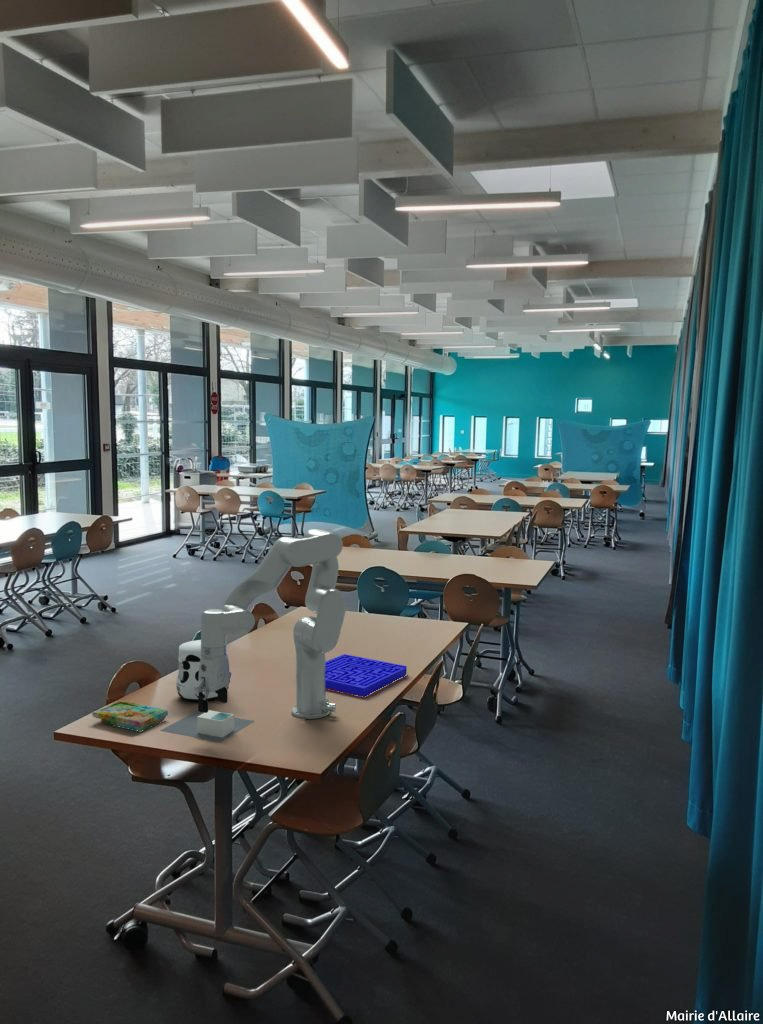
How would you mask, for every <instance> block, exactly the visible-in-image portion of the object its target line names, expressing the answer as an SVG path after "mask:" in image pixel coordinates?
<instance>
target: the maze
mask: <svg viewBox="0 0 763 1024" xmlns="http://www.w3.org/2000/svg"><path fill="white" fill-rule="evenodd" d="M325 671H326V690H327V689H330V690H329V691H331V690H334V691H333V692H335V691H339V692H338V693H340V692H343V693H342V694H344V693H349V694H353V695H358V696H363V697H365V696H367V695H369V694H370V693H372V692H374V691H376V690H378V689H380V688H382V687H384V686H386V685H388V684H390V683H392V682H393V681H395V680H397V679H399V678H401V677H404V676H405V675H406V674H407V673H408V672H407V665H404V664H398V663H392V662H388V661H381V660H376V659H371V658H366V657H361V656H356V655H351V654H347V653H344V654H341V655H339V656H336V657H334V658H331V659H328V660H326V666H325ZM349 694H348V695H349ZM353 695H352V696H353ZM369 696H370V695H369ZM367 697H368V696H367ZM365 698H366V697H365Z"/></svg>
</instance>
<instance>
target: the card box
mask: <svg viewBox="0 0 763 1024" xmlns="http://www.w3.org/2000/svg"><path fill="white" fill-rule="evenodd" d="M234 718H235V714H234V713H228V712H221V711H217V710H210V709H208V712H207V713H203V714H201V715H200V716H198V717H197V731H198V733H201V734H206V735H212V736H217V737H222V738H223V737H224V736H226V735H228V734H229V733H231V732H232V731H234Z"/></svg>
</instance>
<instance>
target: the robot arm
mask: <svg viewBox="0 0 763 1024" xmlns="http://www.w3.org/2000/svg"><path fill="white" fill-rule="evenodd" d="M343 548H344V543H343V540H342V538H341V536H340V535H339V534H337V533H335V532H333V531H329V530H325V529H320V528H310V529H308V530H307V531H305V532H304V534H303V536H302V538H296V537H291V536H281V537H280V538H279V537H278V539H277V540H276V541H275V542H274V543H273V545H272V546H271V548H270V549H269V550H268V552H267V554H266V555H265V556H264V558H263V559H262V561H261V562H260V564H259V565H258V566H257V568H256V569H255V570H254V572H253V573H252V574H251V575H249V576H248V577H247V578H245V580H243V581H241V583H240V584H239V585H237V586H236V587H235V588H234V589H233V590H232V592H230V594H229V595H228V596H227V598H226V600H224V603H223V604H222V605H221V607H220V609H218V608H209V609H206V610H203V611H202V612H201V617H200V618H201V619H200V620H201V621H200V640H201V659H200V665H199V676H198V683H197V684H196V685H195V687H194V691H195V695H196V696H197V699H198V701H197V711H199V712H204V713H207V712H208V711H209V700H208V699H207V697H208V695H209V692H215V691H217V690H218V698H217V702H218V703H223V704H226V703H228V689H229V687H230V686H229V684H230V682H231V678H232V672H231V671H230V661H229V654H228V653H227V646H228V645H227V644H228V643H227V641H228V639H227V638H228V636H227V635H228V634H230V635H231V634H233V635H243V634H247V633H249V632H251V631H252V630H253V628H254V627H255V623H256V619H255V616H254V614H253V613H252V612H251V611H249V610H248V608H249V607H250V605H251V604H252V603H253V602H254V601H255V600H256V599H258V598H259V597H260V596H263V595H265V594H267V593H271V592H272V591H274V590H276V589H277V588H278V587H279V585H280V584H281V583H282V581H283V579H284V578H285V576H286V575H287V573H288V572H289V571H290V570H291V568H292V567H295V568H300V567H306V566H307V567H308V566H311V565H312V569H311V575H310V577H309V578H310V579H309V583H308V586H307V589H306V590H307V591H306V594H305V599H304V605H305V607H306V609H307V610H308V611H310V612H312V613H314V614H316V617H315V616H311V615H305V616H302V617H300V618H299V619H298V620H297V621H296V622H295V623H294V627H293V631H292V633H293V634H292V636H293V644H294V648H295V679H296V680H295V683H296V684H295V689H296V690H295V692H296V693H295V695H296V696H295V699H296V702H295V706H293V707H292V708H291V714H292V716H294V717H295V718H299V719H305V720H313V719H315V720H316V719H321V718H324V717H327V716H328V715H330V713H331V712H332V713H335V712H336V710H337V707H336V706H337V704H336V703H331V702H329V697H326V695H327V694H326V690H327V689H326V671H325V666H326V661H327V660H326V654H327V653H329V652H331V651H333V649H335V647H336V646H337V644H338V642H339V639H340V635H341V631H342V628H343V624H344V620H345V616H346V611H347V601H346V596H345V595H344V593H343V592H342V591H341V590H339V589H337V588H336V586H337V581H338V575H339V568H340V567H339V560H338V556H339V555H340V554H341V553H342V551H343ZM206 688H207V689H206ZM203 691H204V692H205V694H203Z"/></svg>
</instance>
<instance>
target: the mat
mask: <svg viewBox="0 0 763 1024" xmlns="http://www.w3.org/2000/svg"><path fill="white" fill-rule="evenodd" d="M203 713H204V712H199V711H198V710H196V711H194V712H192V713H190V714H189V715H186V716H185V717H183V718H180V719H179V720H177V721H175V722H173V723H172V724H170V725H168V726H166V727H164V728H162V729H160V731H161V732H165V733H171V734H174V735H175V734H176V735H181V736H187V737H191V738H196V739H201V740H207V741H212V742H219V743H222V742H224V741H226V740H227V739H229V738H230V737H231V736H232V737H233V735H234V734H236V733H238V732H239V731H241V730H243V729H245V728H246V727H248V726H249V725H251V724H252V723H254V722H255V720H252V719H251V720H250V719H245V718H240V717H234V731H232V732H231V733H229V734H228V735H226V736H224V737H223V738H222V737H217V736H212V735H206V734H201V733H198V731H197V717H198V716H200V715H201V714H203Z"/></svg>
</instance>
